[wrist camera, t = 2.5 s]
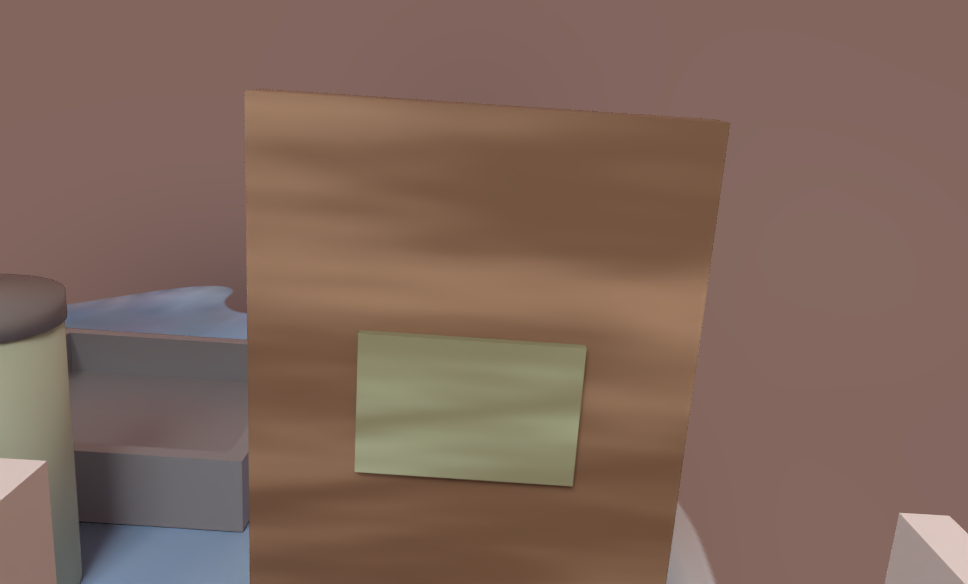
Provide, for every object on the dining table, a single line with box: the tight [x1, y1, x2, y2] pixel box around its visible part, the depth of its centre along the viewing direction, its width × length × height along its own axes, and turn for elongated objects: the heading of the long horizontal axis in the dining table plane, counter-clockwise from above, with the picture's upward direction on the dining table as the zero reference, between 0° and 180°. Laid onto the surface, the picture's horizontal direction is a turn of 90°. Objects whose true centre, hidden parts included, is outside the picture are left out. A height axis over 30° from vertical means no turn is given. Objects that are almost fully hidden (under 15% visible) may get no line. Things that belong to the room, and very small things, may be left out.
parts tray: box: [65, 328, 249, 532], centre depth 45 cm, size 16×16×4 cm
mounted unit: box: [245, 89, 730, 584], centre depth 26 cm, size 8×12×20 cm, turn 89°
